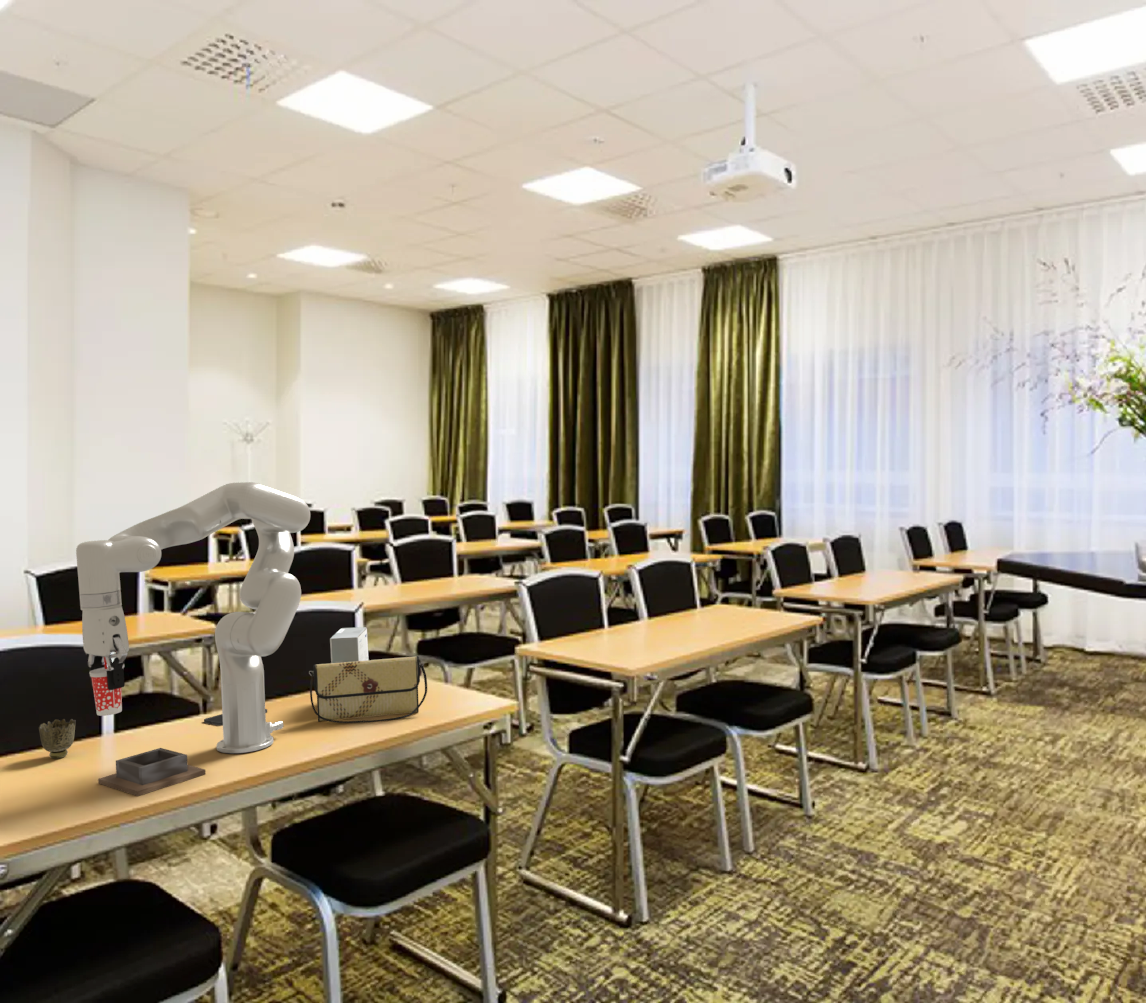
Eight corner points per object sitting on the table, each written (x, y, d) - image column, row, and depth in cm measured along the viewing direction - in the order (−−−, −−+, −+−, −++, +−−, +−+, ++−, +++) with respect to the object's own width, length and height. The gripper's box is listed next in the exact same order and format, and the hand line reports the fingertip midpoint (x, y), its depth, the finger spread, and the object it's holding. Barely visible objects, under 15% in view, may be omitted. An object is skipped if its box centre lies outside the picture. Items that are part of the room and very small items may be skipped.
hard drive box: (343, 697, 256) (341, 627, 255) (370, 695, 256) (368, 626, 256) (332, 711, 240) (329, 637, 240) (361, 710, 241) (358, 636, 240)
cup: (32, 762, 204) (30, 727, 203) (55, 751, 211) (53, 718, 211) (62, 762, 203) (60, 727, 202) (84, 752, 210) (82, 718, 210)
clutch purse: (310, 728, 225) (308, 669, 224) (311, 721, 231) (308, 663, 231) (429, 716, 232) (427, 659, 232) (426, 710, 239) (424, 654, 239)
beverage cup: (118, 706, 190) (113, 641, 189) (131, 711, 186) (125, 644, 185) (87, 714, 185) (82, 647, 184) (100, 718, 181) (94, 650, 181)
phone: (269, 709, 242) (220, 723, 229) (269, 713, 242) (220, 727, 229) (250, 706, 246) (201, 719, 233) (250, 710, 246) (201, 723, 233)
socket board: (165, 763, 200) (164, 743, 200) (205, 774, 191) (204, 753, 191) (98, 783, 187) (97, 762, 187) (137, 796, 179) (136, 774, 179)
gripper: (141, 599, 182) (147, 686, 183) (97, 595, 192) (104, 677, 193) (104, 606, 176) (111, 696, 177) (61, 601, 186) (68, 686, 187)
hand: (107, 685), depth 185 cm, fingers closed on beverage cup, 6 cm apart
